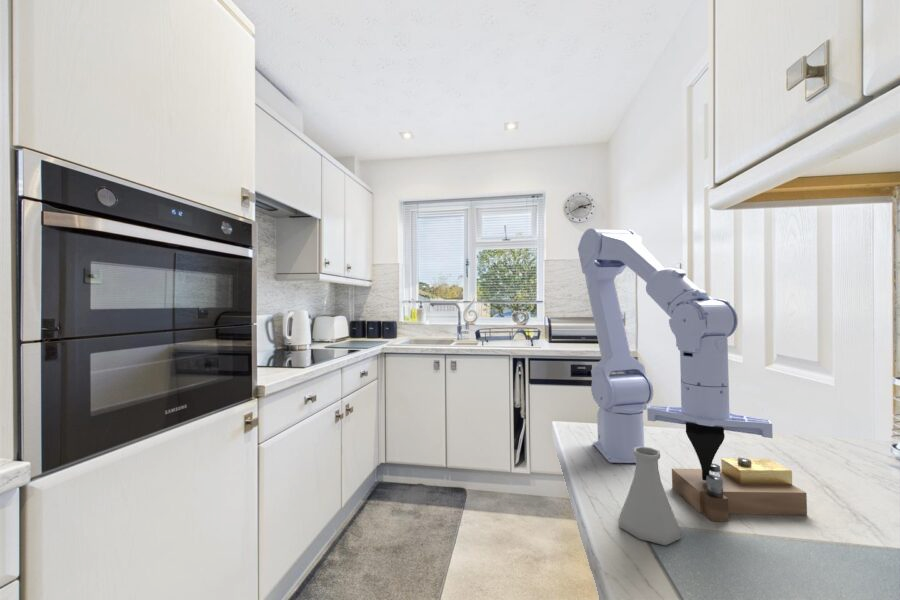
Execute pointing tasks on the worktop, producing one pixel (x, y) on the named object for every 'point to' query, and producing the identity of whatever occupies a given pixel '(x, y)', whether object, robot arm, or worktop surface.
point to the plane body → (738, 496)
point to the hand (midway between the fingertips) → (706, 478)
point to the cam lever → (714, 482)
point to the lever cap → (756, 471)
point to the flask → (648, 502)
